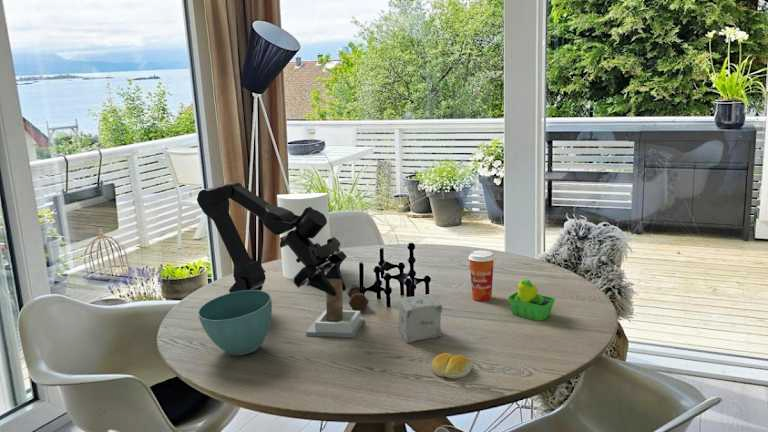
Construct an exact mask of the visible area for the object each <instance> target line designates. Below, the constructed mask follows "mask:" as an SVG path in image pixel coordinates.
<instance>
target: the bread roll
mask: <svg viewBox="0 0 768 432" xmlns="http://www.w3.org/2000/svg"><path fill="white" fill-rule="evenodd" d="M472 367H473V366H472V363H471V361H470V360H469V359H468V358H467V357H466V356H464V355H461V354H455V355H454V354H451V353H450V352H444V353H441V354H440V353H439V354H437V356H435V357H433V359H432V362H431V369H432V371H433V373H434V375H437V376H439V377H442V378H445V377H446V378H448V379H461V378H464V377H466V376H467V375H469V373H471V371H472Z"/></svg>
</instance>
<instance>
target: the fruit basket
mask: <svg viewBox="0 0 768 432" xmlns="http://www.w3.org/2000/svg"><path fill="white" fill-rule="evenodd" d="M517 288H518V289H517V292H514V293H512V294H510V295H508V296H507V300H508V302H509V306H510V309H511V313H512V315H515V316H519V317H523V318H527V319H530V320H535V321H539V322H541V321H543V320H545V319H547V317H550V316H551V313H552V309H553V305H554V304H555V301H556V298H555V297H551V296H547V295H542V294H538V291H539V290H538V287H537V286H536V285H535V284H533V283H532V282H531V281H530V279H526V278H524V279H523V280H520V281H519V283H518V285H517Z"/></svg>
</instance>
